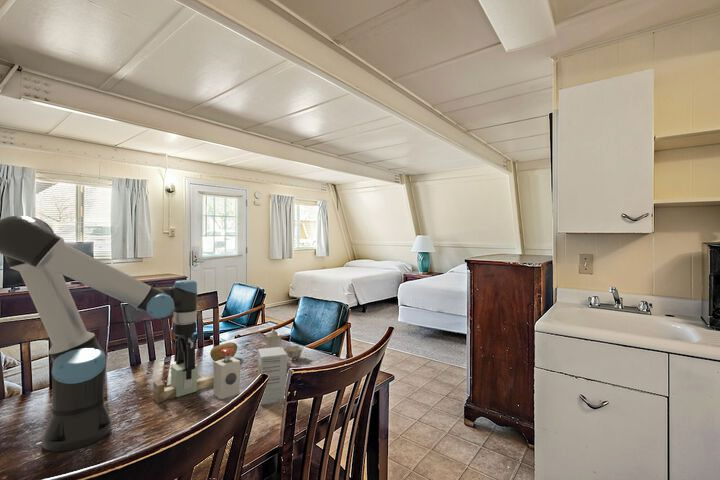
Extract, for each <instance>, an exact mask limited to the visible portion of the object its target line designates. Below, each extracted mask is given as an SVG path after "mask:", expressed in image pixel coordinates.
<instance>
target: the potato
mask: <svg viewBox="0 0 720 480" xmlns="http://www.w3.org/2000/svg"><path fill="white" fill-rule="evenodd" d="M225 348H233V349H234V353H233V354H231V357H233V358H234V357H235V355H236V354H237V351H238V345H237V343H236V342H232V341H230V342H229V341H228V342H225V343H222V344H219V345H217V346H214V347H212V348H211V349H210V353H209V354H210V358H211V359H212V361H213V362H214V361H218V360H222V359H224V355H222V354H221V350H222V349H225Z"/></svg>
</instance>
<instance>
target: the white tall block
mask: <svg viewBox="0 0 720 480" xmlns="http://www.w3.org/2000/svg"><path fill="white" fill-rule="evenodd" d="M213 374H214V385H213V395H214V396H215V397H216V398H218V399H219V400H223V399H227V398H230V397H233V396H236V395H238V394H240V390H241V389H240V386H241V384H240V383H241V379H240V378H241V360H239V359H238V358H235V357H234V356H233V357H231V362H229V363H224V359H222V360H218V361H214V360H213Z"/></svg>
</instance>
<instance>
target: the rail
mask: <svg viewBox="0 0 720 480" xmlns="http://www.w3.org/2000/svg"><path fill="white" fill-rule="evenodd" d="M152 383H153V385H152V399H153V401H155V403H156V404H160V403H163V402H165V401H166V400H169V399H172V398H177V397H176V388H175V387H174V386H171V385H170V386H167V387H165V383H164V382H163V381H161V379H158V380H154V381H153V382H152ZM212 386H214V373H213V374H210V375H207V376H202V377H200V378H199V377H198V378H197V391H199V390H202V389H205V388H209V387H212Z"/></svg>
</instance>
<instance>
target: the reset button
mask: <svg viewBox="0 0 720 480" xmlns="http://www.w3.org/2000/svg"><path fill="white" fill-rule="evenodd" d="M233 353H234V349H233V348H225V349H222V350H221V354H222V355H224V363H229V362H231V354H233Z"/></svg>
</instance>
